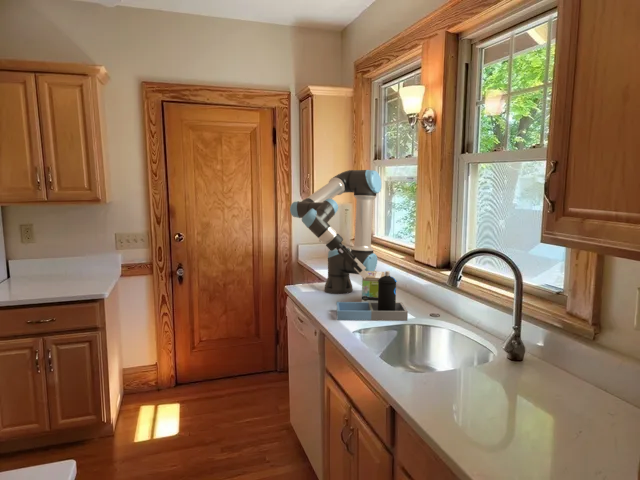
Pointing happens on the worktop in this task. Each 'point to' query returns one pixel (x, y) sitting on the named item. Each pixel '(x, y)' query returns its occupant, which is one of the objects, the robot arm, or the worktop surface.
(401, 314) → the tray
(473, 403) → the worktop surface
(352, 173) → the robot arm
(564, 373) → the worktop surface
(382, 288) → the black bottle
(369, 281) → the tea box
